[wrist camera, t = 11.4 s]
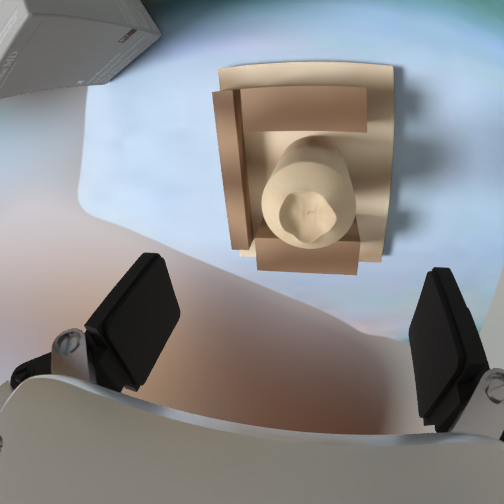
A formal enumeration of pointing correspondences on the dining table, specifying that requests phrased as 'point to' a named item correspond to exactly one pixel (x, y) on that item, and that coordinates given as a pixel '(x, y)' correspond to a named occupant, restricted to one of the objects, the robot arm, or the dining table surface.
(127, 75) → the dining table surface
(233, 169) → the holder
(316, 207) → the candle
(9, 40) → the skincare box
